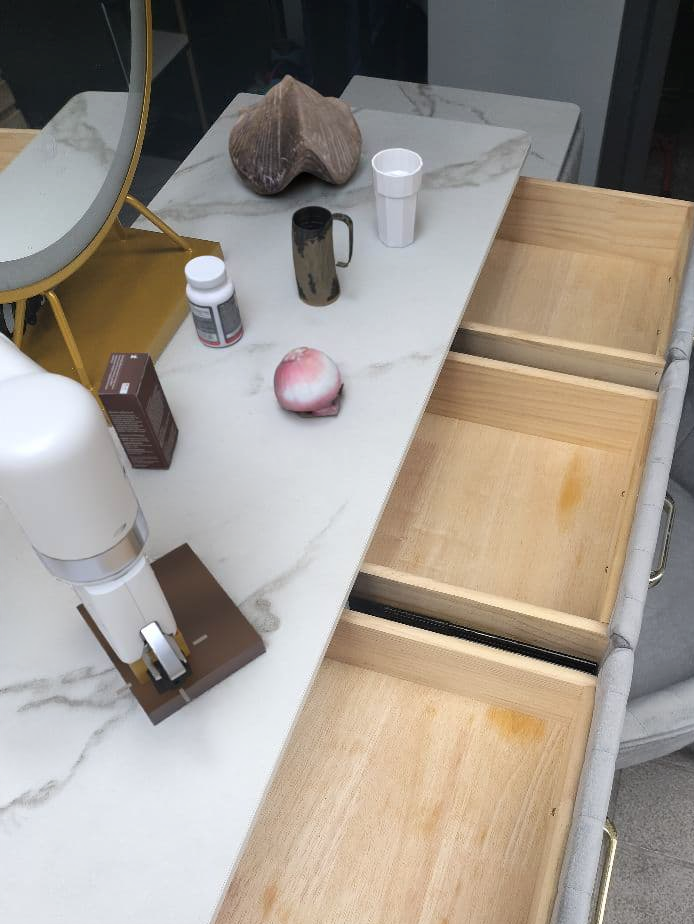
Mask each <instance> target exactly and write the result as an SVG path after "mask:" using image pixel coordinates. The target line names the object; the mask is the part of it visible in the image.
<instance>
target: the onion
mask: <svg viewBox="0 0 694 924" xmlns="http://www.w3.org/2000/svg"><path fill="white" fill-rule="evenodd" d="M344 388H345V382H342V377H341V371H340V369H339V367H338V364H337V363H336V362H335V361H334V360H333V359H332V358H331V357H330V356H329V355H328V354H327V353H326V352H323V351H321V350H318V349H316V348H311V347H308V346H300V347H297V348H292V349H291V350H289V351H288V352H287V353H286V354H285V355H284V357H283V358H282V359H281V361H280V362H279V363H278V365H277V366H276V368H275V371H274V373H273V391H274V396H275V398H276V400H277V402H278V404H279V405H281V407H282V408H284V409H286V410H288V411H292V412H296V413H297V414H298V416H299V417H300V418H313V417H325V416H335V415H337V414H338V412H339V407H340V402H341V397H342V394H343V391H344ZM337 396H338V401H337V402H334V400H335V399H336V397H337ZM332 402H333V403H332Z"/></svg>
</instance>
